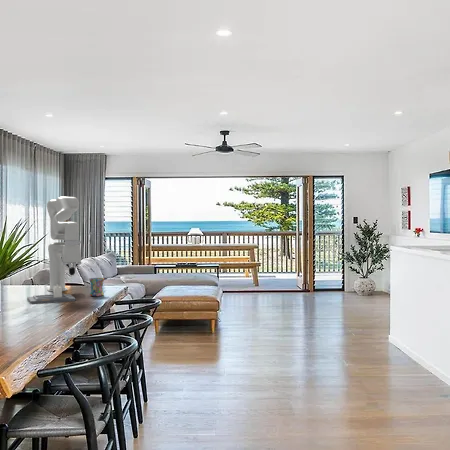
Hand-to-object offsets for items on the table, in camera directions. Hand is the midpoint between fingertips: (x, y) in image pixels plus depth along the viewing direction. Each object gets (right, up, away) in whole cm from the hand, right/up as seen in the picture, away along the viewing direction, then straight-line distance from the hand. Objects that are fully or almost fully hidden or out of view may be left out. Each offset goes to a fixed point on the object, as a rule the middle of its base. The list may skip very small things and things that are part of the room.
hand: (72, 275), depth 300 cm
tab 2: (-7, -13, -3) cm, 15 cm away
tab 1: (-10, -13, +5) cm, 17 cm away
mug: (+11, -15, +15) cm, 23 cm away
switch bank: (-12, -15, -1) cm, 19 cm away
